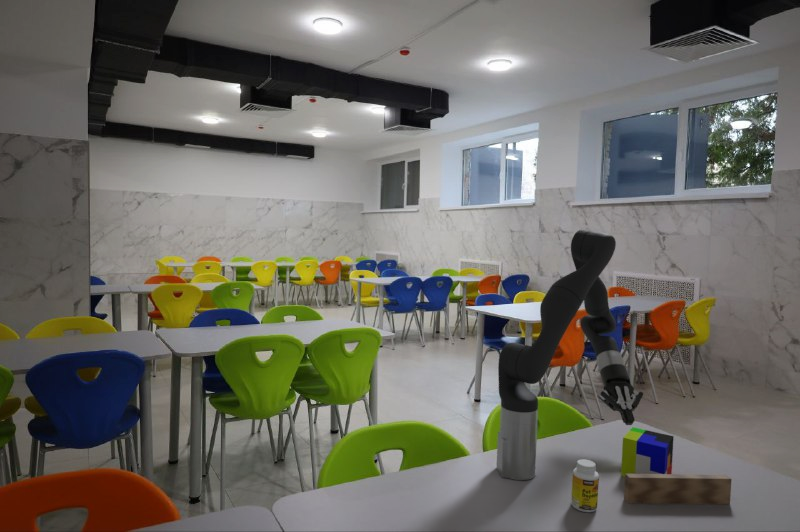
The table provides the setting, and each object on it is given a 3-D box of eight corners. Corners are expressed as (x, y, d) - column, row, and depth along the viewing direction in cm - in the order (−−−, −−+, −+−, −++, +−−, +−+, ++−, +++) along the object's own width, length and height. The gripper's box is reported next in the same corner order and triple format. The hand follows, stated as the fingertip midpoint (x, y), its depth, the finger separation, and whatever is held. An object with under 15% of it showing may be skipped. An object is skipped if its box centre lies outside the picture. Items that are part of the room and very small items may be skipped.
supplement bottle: (580, 514, 115) (582, 469, 114) (566, 502, 120) (568, 458, 119) (602, 512, 116) (604, 467, 115) (588, 500, 121) (590, 456, 121)
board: (628, 503, 120) (629, 477, 120) (624, 498, 122) (625, 473, 122) (729, 504, 121) (731, 478, 121) (724, 499, 123) (725, 474, 123)
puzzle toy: (663, 487, 129) (665, 447, 128) (621, 475, 135) (622, 437, 134) (671, 473, 137) (673, 436, 136) (630, 463, 143) (632, 427, 142)
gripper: (594, 362, 154) (611, 417, 143) (638, 363, 154) (658, 418, 143) (586, 375, 160) (602, 429, 148) (629, 375, 160) (648, 429, 149)
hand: (629, 423), depth 146 cm, fingers closed
